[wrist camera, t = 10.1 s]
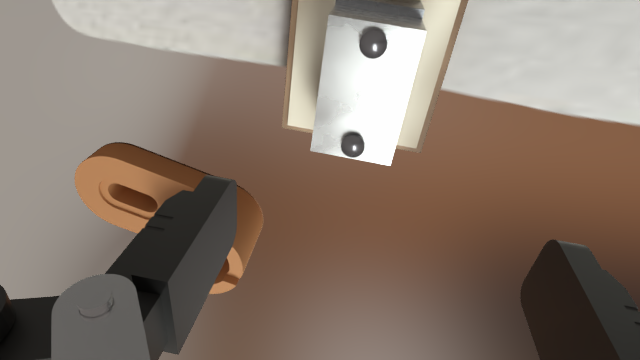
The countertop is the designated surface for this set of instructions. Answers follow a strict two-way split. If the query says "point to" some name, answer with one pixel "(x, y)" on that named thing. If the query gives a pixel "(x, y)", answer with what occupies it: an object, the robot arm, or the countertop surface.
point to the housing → (367, 77)
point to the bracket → (158, 197)
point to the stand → (307, 55)
